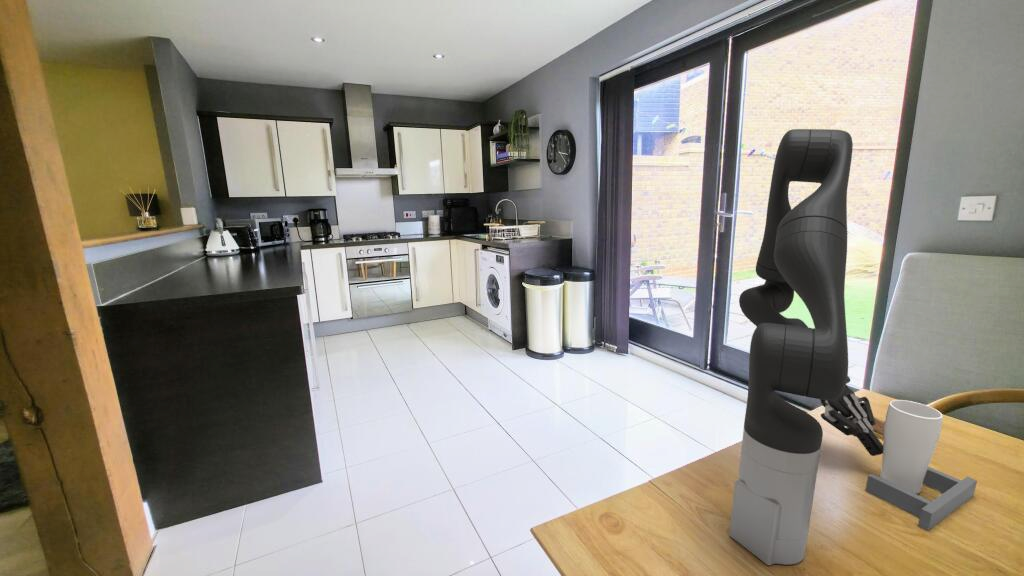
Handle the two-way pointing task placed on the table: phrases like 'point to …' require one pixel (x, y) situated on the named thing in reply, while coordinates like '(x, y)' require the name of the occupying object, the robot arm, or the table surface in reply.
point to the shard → (878, 428)
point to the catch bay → (925, 509)
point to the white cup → (909, 443)
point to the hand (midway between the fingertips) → (879, 453)
